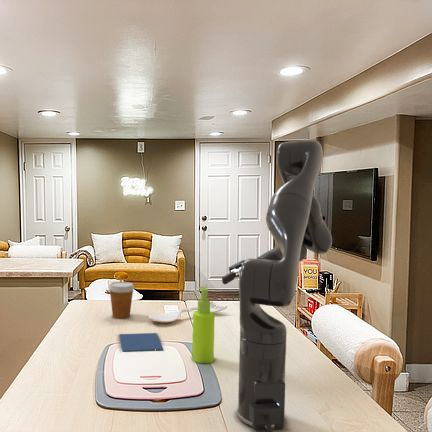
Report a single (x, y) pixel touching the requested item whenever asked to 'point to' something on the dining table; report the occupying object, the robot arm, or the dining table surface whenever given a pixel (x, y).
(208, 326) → the soap dispenser
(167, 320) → the spoon
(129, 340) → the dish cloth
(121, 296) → the disposable coffee cup
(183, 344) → the dining table surface
